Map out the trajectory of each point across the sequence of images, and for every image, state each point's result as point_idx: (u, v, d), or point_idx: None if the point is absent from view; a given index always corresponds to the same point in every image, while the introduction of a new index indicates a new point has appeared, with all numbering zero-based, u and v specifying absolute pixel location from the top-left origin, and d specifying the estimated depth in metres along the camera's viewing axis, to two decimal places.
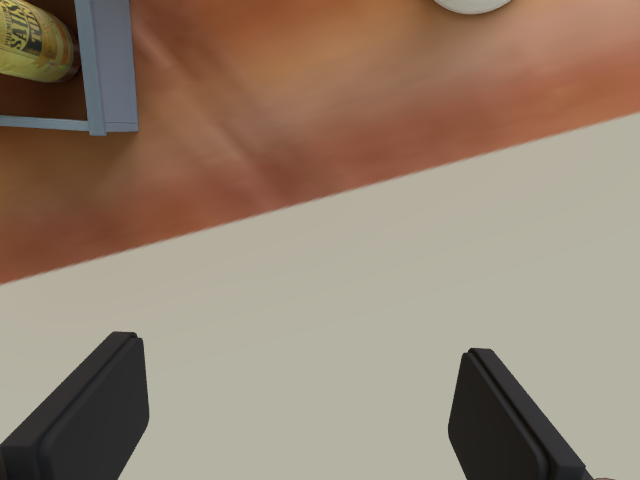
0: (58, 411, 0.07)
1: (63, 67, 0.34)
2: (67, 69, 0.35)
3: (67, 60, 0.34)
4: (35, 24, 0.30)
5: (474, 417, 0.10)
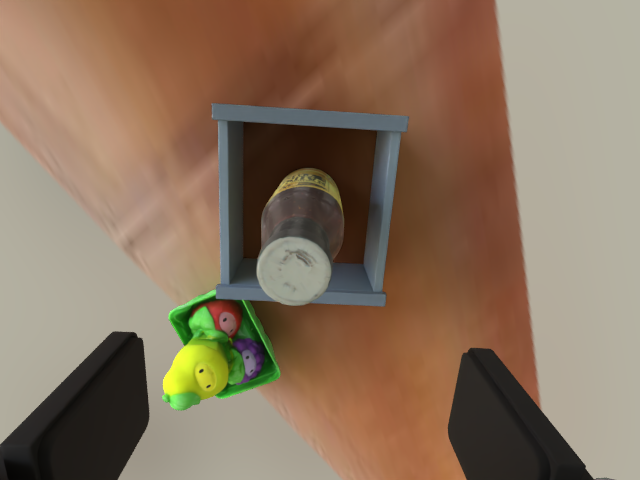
0: (58, 411, 0.07)
1: (328, 176, 0.35)
2: None
3: (322, 171, 0.35)
4: (298, 175, 0.31)
5: (474, 417, 0.10)
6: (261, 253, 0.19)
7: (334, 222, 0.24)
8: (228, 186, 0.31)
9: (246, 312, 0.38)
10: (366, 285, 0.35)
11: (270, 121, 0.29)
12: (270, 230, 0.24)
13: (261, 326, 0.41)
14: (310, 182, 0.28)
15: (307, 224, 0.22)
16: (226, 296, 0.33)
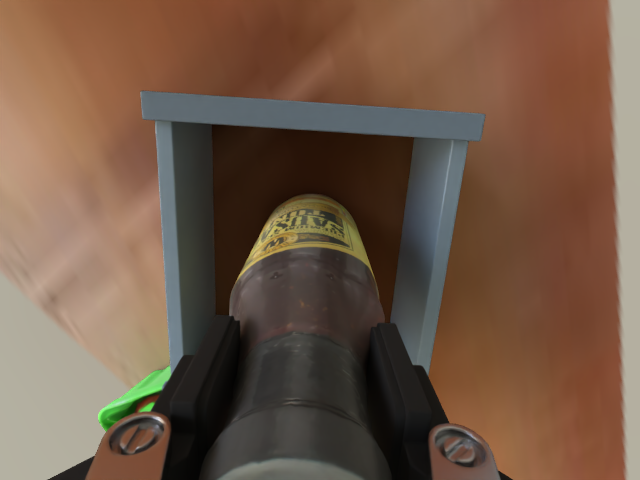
0: (202, 377, 0.08)
1: (342, 208, 0.22)
2: None
3: (332, 201, 0.22)
4: (296, 211, 0.19)
5: (373, 383, 0.11)
6: None
7: (372, 326, 0.12)
8: (177, 230, 0.19)
9: None
10: None
11: (244, 122, 0.16)
12: (241, 351, 0.11)
13: None
14: (319, 233, 0.15)
15: (321, 360, 0.09)
16: None
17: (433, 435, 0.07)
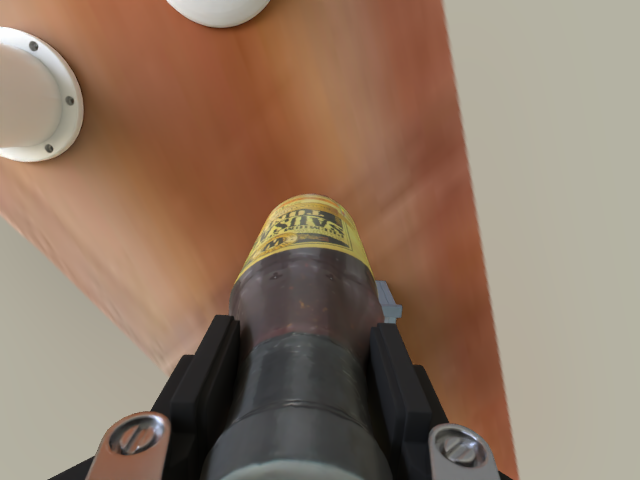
0: (203, 377, 0.08)
1: (341, 208, 0.22)
2: (342, 207, 0.23)
3: (331, 201, 0.22)
4: (295, 212, 0.19)
5: (373, 383, 0.11)
6: None
7: (372, 326, 0.12)
8: None
9: None
10: None
11: None
12: (240, 352, 0.11)
13: None
14: (319, 233, 0.15)
15: (321, 361, 0.09)
16: None
17: (433, 435, 0.07)
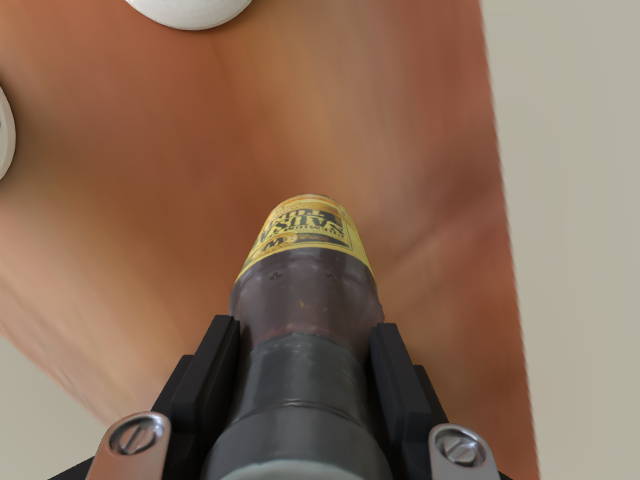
0: (202, 377, 0.08)
1: (341, 208, 0.22)
2: None
3: (331, 201, 0.22)
4: (295, 212, 0.19)
5: (373, 383, 0.11)
6: None
7: (372, 326, 0.12)
8: None
9: None
10: None
11: None
12: (240, 352, 0.11)
13: None
14: (319, 233, 0.15)
15: (321, 361, 0.09)
16: None
17: (433, 435, 0.07)
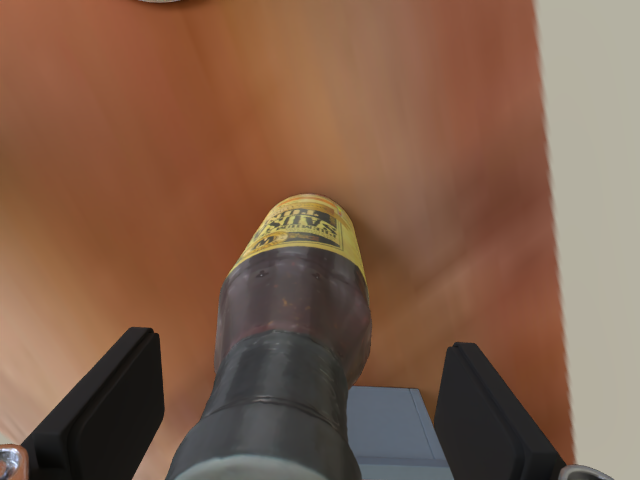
0: (84, 402, 0.07)
1: (339, 208, 0.22)
2: (340, 207, 0.23)
3: (329, 201, 0.22)
4: (291, 211, 0.19)
5: (457, 409, 0.10)
6: None
7: (356, 326, 0.12)
8: None
9: None
10: None
11: None
12: (223, 349, 0.11)
13: None
14: (310, 232, 0.15)
15: (298, 359, 0.09)
16: None
17: None
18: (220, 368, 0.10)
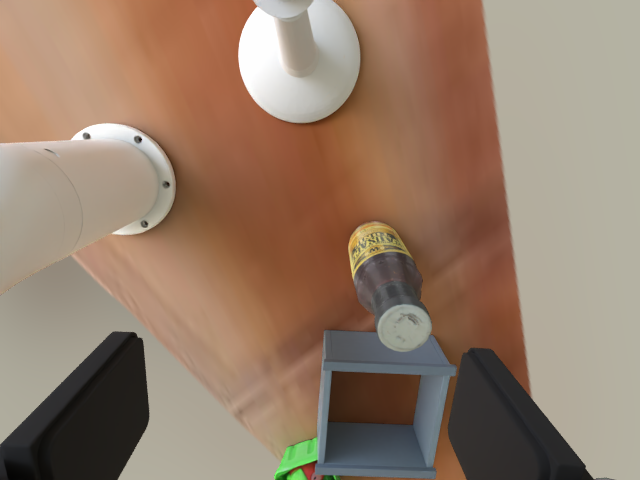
0: (58, 411, 0.07)
1: (393, 230, 0.42)
2: (393, 229, 0.43)
3: (388, 226, 0.42)
4: (375, 233, 0.39)
5: (474, 417, 0.10)
6: (382, 315, 0.27)
7: (418, 282, 0.32)
8: (328, 404, 0.44)
9: None
10: (420, 458, 0.48)
11: (362, 371, 0.42)
12: (372, 289, 0.31)
13: None
14: (392, 245, 0.35)
15: (405, 288, 0.29)
16: (322, 473, 0.46)
17: None
18: (375, 294, 0.30)
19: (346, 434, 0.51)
